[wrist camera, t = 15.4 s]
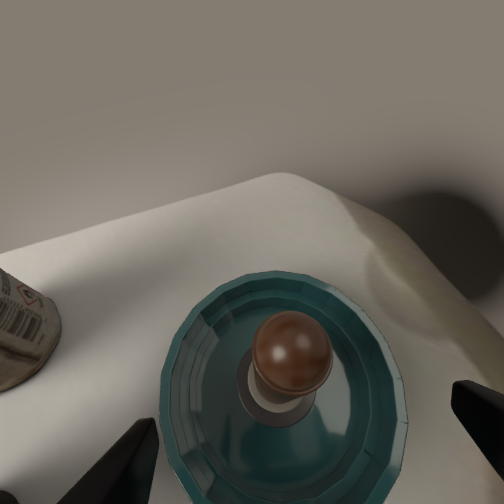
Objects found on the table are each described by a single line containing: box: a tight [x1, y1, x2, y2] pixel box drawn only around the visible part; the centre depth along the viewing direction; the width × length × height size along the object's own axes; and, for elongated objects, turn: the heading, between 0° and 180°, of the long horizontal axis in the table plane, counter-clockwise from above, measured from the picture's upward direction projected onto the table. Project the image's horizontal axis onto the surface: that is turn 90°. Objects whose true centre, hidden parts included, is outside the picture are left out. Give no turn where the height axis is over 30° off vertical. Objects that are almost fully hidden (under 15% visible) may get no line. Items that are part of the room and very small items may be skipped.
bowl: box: [159, 271, 408, 504], centre depth 16 cm, size 14×14×4 cm
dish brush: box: [237, 311, 333, 428], centre depth 12 cm, size 5×5×12 cm
